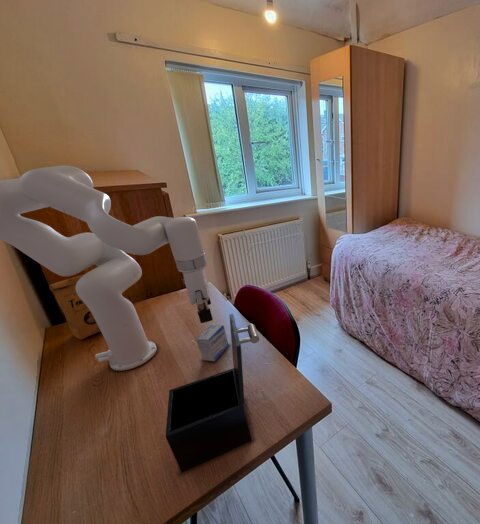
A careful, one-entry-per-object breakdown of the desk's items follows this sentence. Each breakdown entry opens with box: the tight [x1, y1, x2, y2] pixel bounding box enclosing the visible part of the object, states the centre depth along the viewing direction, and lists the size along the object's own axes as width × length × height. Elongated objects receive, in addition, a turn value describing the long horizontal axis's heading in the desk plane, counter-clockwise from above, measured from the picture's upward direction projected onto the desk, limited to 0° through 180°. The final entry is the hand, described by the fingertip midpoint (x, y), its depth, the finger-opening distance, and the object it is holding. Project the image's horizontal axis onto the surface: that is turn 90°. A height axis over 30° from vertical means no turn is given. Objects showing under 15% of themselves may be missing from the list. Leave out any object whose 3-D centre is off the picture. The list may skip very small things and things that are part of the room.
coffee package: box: [48, 273, 101, 340], centre depth 102 cm, size 10×12×22 cm
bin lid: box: [229, 312, 260, 405], centre depth 65 cm, size 15×13×5 cm
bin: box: [164, 367, 253, 474], centre depth 66 cm, size 15×13×12 cm
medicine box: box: [195, 323, 229, 362], centre depth 92 cm, size 8×4×9 cm, turn 168°
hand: (206, 312), depth 87 cm, fingers open, 9 cm apart
